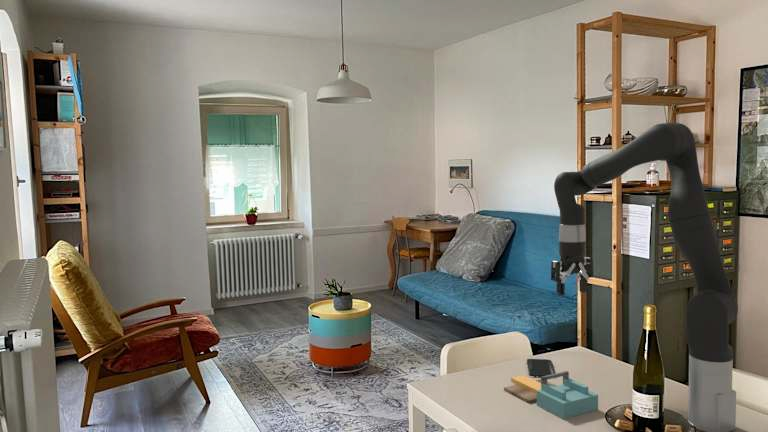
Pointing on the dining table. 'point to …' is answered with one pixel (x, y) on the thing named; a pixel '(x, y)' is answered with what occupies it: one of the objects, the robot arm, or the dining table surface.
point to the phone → (540, 367)
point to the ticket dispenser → (566, 397)
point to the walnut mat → (523, 392)
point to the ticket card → (527, 383)
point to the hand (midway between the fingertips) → (572, 293)
